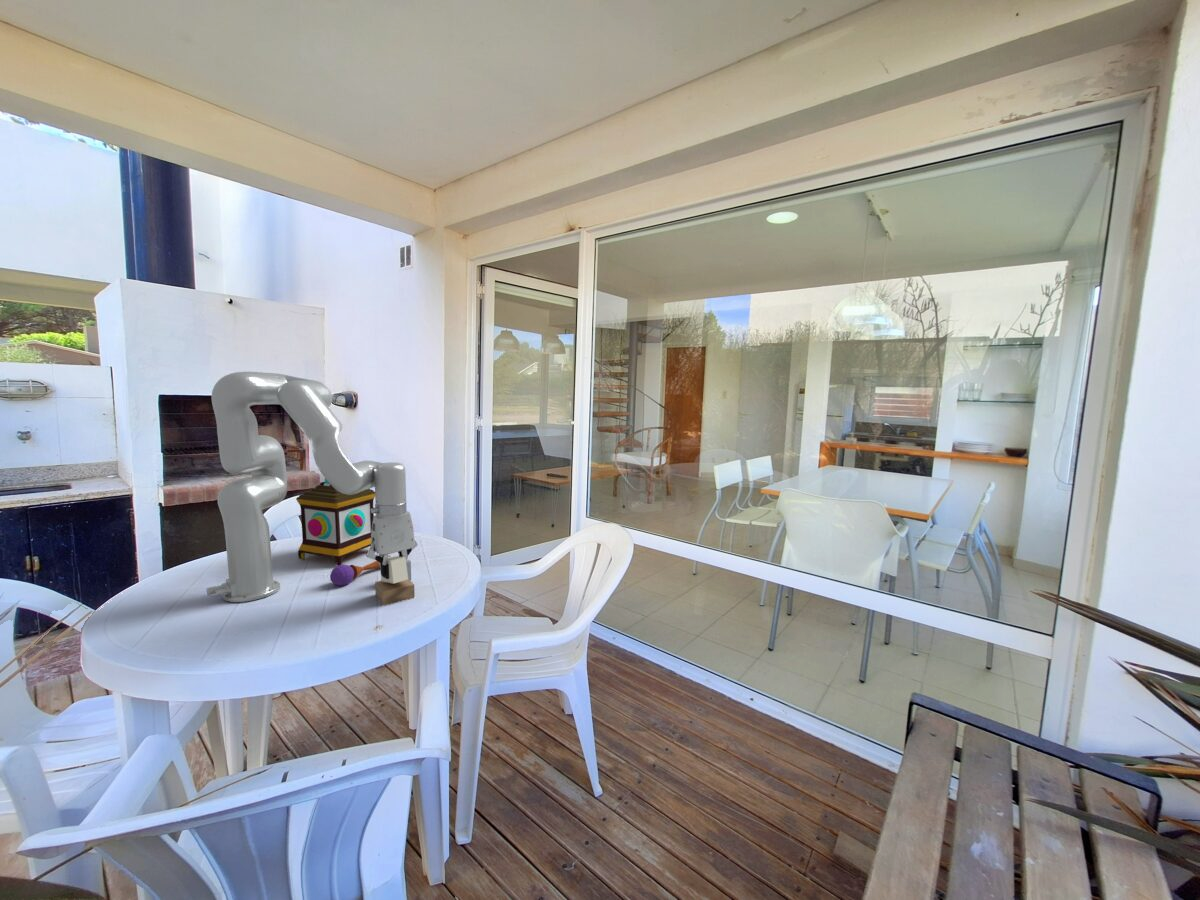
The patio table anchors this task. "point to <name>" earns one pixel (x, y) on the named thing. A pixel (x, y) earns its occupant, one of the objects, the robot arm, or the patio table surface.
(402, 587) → the walnut block
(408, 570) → the slate grey brick
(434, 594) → the patio table surface
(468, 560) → the patio table surface
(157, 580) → the patio table surface
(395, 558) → the cream brick
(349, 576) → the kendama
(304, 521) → the decorative lantern
